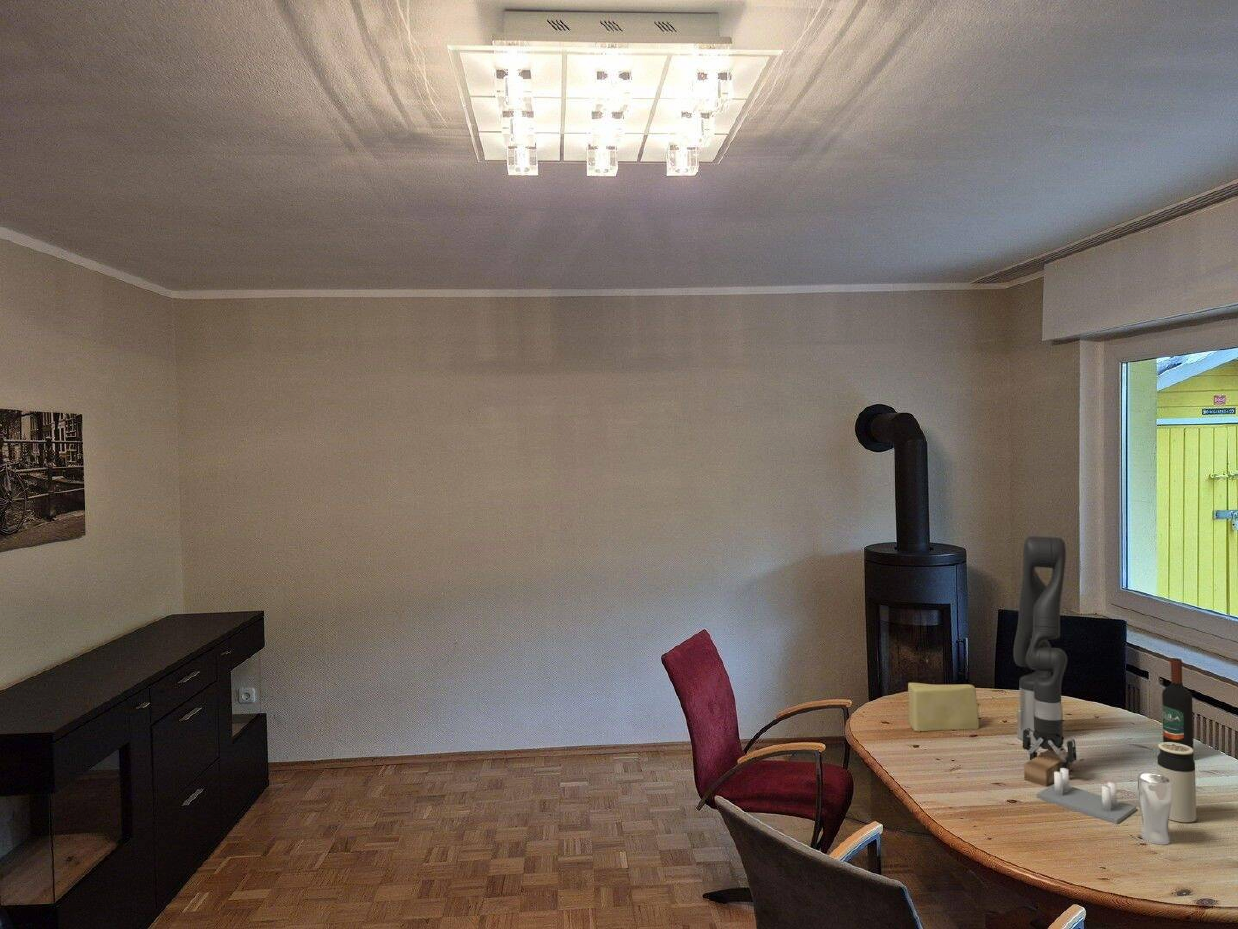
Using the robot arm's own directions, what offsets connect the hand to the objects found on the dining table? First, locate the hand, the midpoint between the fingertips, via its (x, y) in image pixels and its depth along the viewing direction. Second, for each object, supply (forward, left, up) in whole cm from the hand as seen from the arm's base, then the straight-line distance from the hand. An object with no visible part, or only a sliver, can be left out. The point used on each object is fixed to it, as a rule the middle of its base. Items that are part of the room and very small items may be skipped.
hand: (1049, 769), depth 230 cm
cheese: (-41, +13, -2) cm, 43 cm away
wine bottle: (+19, +42, -2) cm, 46 cm away
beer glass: (+34, -19, -2) cm, 39 cm away
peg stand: (+15, -12, -2) cm, 19 cm away
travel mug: (+33, -2, -2) cm, 33 cm away
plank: (0, 0, -2) cm, 2 cm away
